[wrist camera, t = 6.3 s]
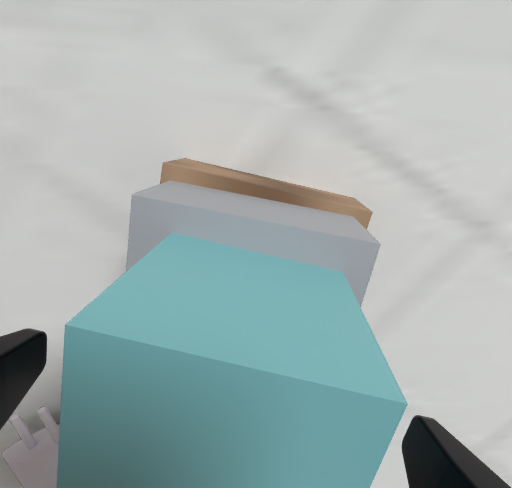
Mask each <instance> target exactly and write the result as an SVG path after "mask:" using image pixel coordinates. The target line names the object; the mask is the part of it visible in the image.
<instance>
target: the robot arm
mask: <svg viewBox="0 0 512 488" xmlns="http://www.w3.org/2000/svg"><path fill="white" fill-rule="evenodd" d="M46 356H47V335H46V333H45V332H43V331H39V330H35V329H29V328H28V329H23V330H20V331H17V332H14V333H11V334H7V335H4V336H1V337H0V430H1V428H2V427H3V426H4V424H5V423H6V422H7V420H8V419H9V417H10V416H11V415H12V413H13V412H14V410H15V409H16V407H17V406H18V405H19V403H20V402H21V400H22V399H23V398H24V396H25V395H26V393H27V392H28V391H29V389H30V388H31V386H32V385H33V384H34V382H35V381H36V379H37V378H38V376H39V375H40V374H41V372H42V371H43V369H44V367H45V364H46ZM402 453H403V458H404V463H405V468H406V473H407V479H408V484H409V488H511V487H510V486H509V485H508V484H506V483H505V482H504V481H503V480H502V479H501V478H500V477H499V476H498V475H496V474H495V473H494V472H493V471H492V470H491V469H490V468H489V467H487V466H486V465H485V464H484V463H483V462H482V461H481V460H480V459H478V458H477V457H476V456H475V455H474V454H473V453H472V452H471V451H469V450H468V449H467V448H466V447H465V446H464V445H463V444H462V443H460V442H459V441H458V440H457V439H456V438H455V437H454V436H453V435H452V434H450V433H449V432H448V431H447V430H446V429H445V428H444V427H443V426H441V425H440V424H439V423H438V422H437V421H436V420H434V419H432V418H429V417H425V416H420V415H417V416H415V417H413V419H412V421H411V423H410V425H409V427H408V430H407V432H406V434H405V436H404V438H403V441H402Z"/></svg>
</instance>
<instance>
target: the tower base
mask: <svg viewBox="0 0 512 488" xmlns="http://www.w3.org/2000/svg"><path fill="white" fill-rule="evenodd" d="M170 180H172V181H177V182H182V183H187V184H192V185H197V186H202V187H207V188H212V189H217V190H222V191H227V192H232V193H237V194H242V195H248V196H253V197H258V198H263V199H268V200H273V201H278V202H283V203H288V204H293V205H298V206H303V207H308V208H313V209H318V210H323V211H328V212H333V213H338V214H343V215H348V216H353V217H354V218H355V219H356V220H357V221H358V222H359V223H360V224H361V225H362V226H363V227H364V228H365V229H366V230H367V227H368V224H369V221H370V218H371V215H372V211H370V210H369V209H368V208H367V207H365V206H364V205H363V204H361V203H360V202H359V201H357V200H356V199H355V198H351V197H347V196H343V195H339V194H334V193H330V192H326V191H322V190H317V189H313V188H309V187H305V186H300V185H296V184H292V183H288V182H283V181H279V180H275V179H271V178H266V177H262V176H258V175H254V174H249V173H245V172H241V171H237V170H233V169H228V168H224V167H220V166H216V165H211V164H207V163H203V162H199V161H194V160H190V159H186V158H184V159H179V160H174V161H169V162H164V163H163V166H162V173H161V180H160V184H162V183H164V182H167V181H170Z"/></svg>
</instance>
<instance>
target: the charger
mask: <svg viewBox="0 0 512 488" xmlns="http://www.w3.org/2000/svg"><path fill="white" fill-rule="evenodd" d="M37 414H38V416H39V418H40V419H41V421H42V422H43V424H44V426H45V427H46V428H43V429H41V430H39V431H37V432H35V433H33V434H31V432H30V431H29V429H28V427H27V426H26V424H25V423H24V421H23V419H22V418H21V416H20V415H19V414H17V413H15V414H13V415H12V416H11V417H10V418H9V420H10V422H11V424H12V425H13V427H14V428H15V430H16V431H17V433H18V434H19V436H20V437H21V440H19V441H17V442H16V443H14V444H13V445H11V446H10V447H8V448H7V449H6V450H4V451H3V456H2V457H3V458H4V460H5V461H6V463H7V464H8V466H9V467H10V469H11V470H12V472H13V473H14V475H15V476H16V478H17V479H18V481H19V482H20V483H21V485H22V486H23V488H56V485H57V466H58V448H59V429H60V424H59V425H57V424H56V422H55V421H54V419H53V417H52V416H51V414H50V412H49V411H48V409H47V407H41V408H40V409H39V410H38V411H37Z"/></svg>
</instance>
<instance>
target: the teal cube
mask: <svg viewBox="0 0 512 488" xmlns="http://www.w3.org/2000/svg"><path fill="white" fill-rule="evenodd" d="M406 406H407V402H406V400H405V398H404V396H403V394H402V392H401V390H400V388H399V385H398V383H397V381H396V379H395V377H394V375H393V373H392V371H391V369H390V367H389V365H388V363H387V361H386V359H385V357H384V355H383V353H382V351H381V349H380V347H379V345H378V343H377V341H376V339H375V336H374V334H373V332H372V330H371V328H370V326H369V324H368V322H367V320H366V318H365V316H364V314H363V312H362V310H361V308H360V306H359V304H358V302H357V300H356V298H355V296H354V294H353V292H352V290H351V287H350V285H349V283H348V281H347V279H346V277H345V275H344V273H343V272H340V271H335V270H331V269H327V268H322V267H318V266H314V265H310V264H305V263H301V262H297V261H292V260H288V259H284V258H280V257H275V256H271V255H267V254H262V253H258V252H254V251H249V250H245V249H241V248H237V247H232V246H228V245H224V244H219V243H215V242H211V241H206V240H202V239H198V238H194V237H189V236H185V235H181V234H176V233H171V234H170V235H168V236H167V237H166V238H165V239H164V240H163V241H161V242H160V243H159V244H158V245H157V246H156V247H154V248H153V249H152V250H151V251H150V252H149V253H148V254H146V255H145V256H144V257H143V258H142V259H141V260H139V261H138V262H137V263H136V264H135V265H134V266H132V267H131V268H130V269H129V270H128V271H127V272H126V273H124V274H123V275H122V276H121V277H120V278H119V279H117V280H116V281H115V282H114V283H113V284H112V285H111V286H109V287H108V288H107V289H106V290H105V291H104V292H102V293H101V294H100V295H99V296H98V297H97V298H95V299H94V300H93V301H92V302H91V303H90V304H89V305H87V306H86V307H85V308H84V309H83V310H82V311H80V312H79V313H78V314H77V315H76V316H75V317H74V318H72V319H71V320H70V321H69V322H68V323H67V324H65V337H64V355H63V374H62V392H61V411H60V429H59V448H58V466H57V485H56V488H370V486H371V484H372V481H373V479H374V477H375V475H376V473H377V470H378V468H379V466H380V464H381V462H382V459H383V457H384V455H385V453H386V451H387V448H388V446H389V444H390V442H391V439H392V437H393V435H394V433H395V431H396V428H397V426H398V424H399V422H400V420H401V417H402V415H403V413H404V411H405V409H406Z"/></svg>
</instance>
